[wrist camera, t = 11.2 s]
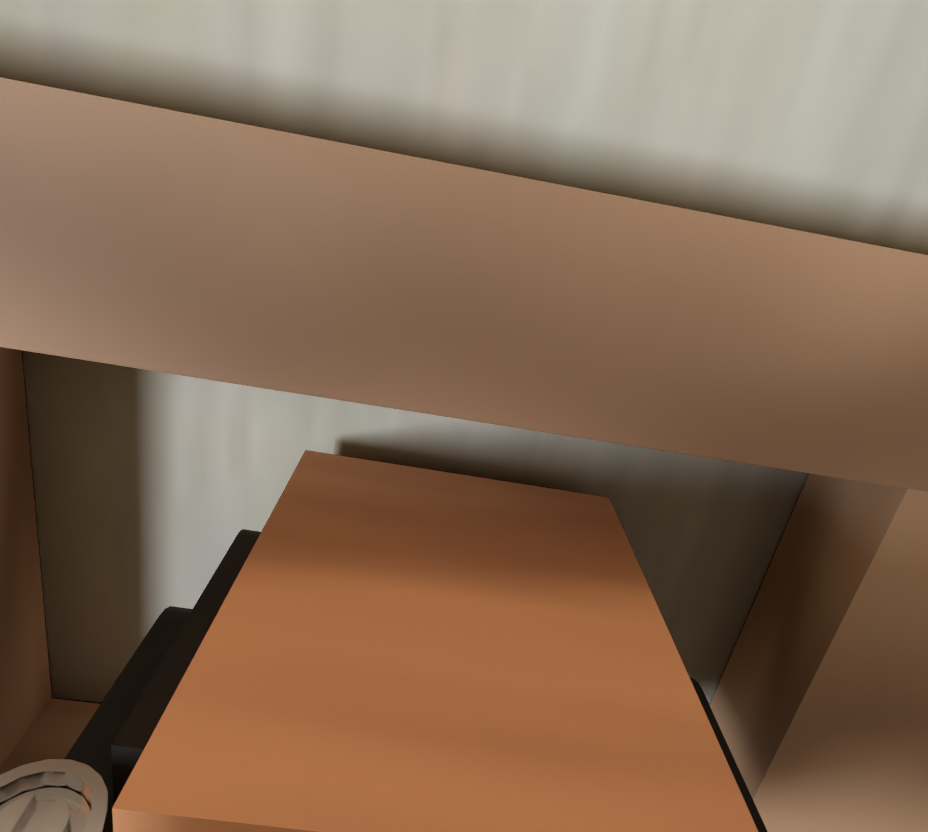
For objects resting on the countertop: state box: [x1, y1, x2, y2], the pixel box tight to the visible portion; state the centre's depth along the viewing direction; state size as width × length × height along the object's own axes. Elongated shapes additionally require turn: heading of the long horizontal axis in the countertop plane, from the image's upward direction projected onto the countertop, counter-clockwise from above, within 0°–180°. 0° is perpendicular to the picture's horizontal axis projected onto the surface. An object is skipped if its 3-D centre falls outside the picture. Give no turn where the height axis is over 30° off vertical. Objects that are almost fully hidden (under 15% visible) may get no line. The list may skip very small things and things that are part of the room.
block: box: [112, 450, 758, 832], centre depth 8 cm, size 5×5×6 cm
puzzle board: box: [0, 77, 928, 832], centre depth 12 cm, size 23×20×2 cm
